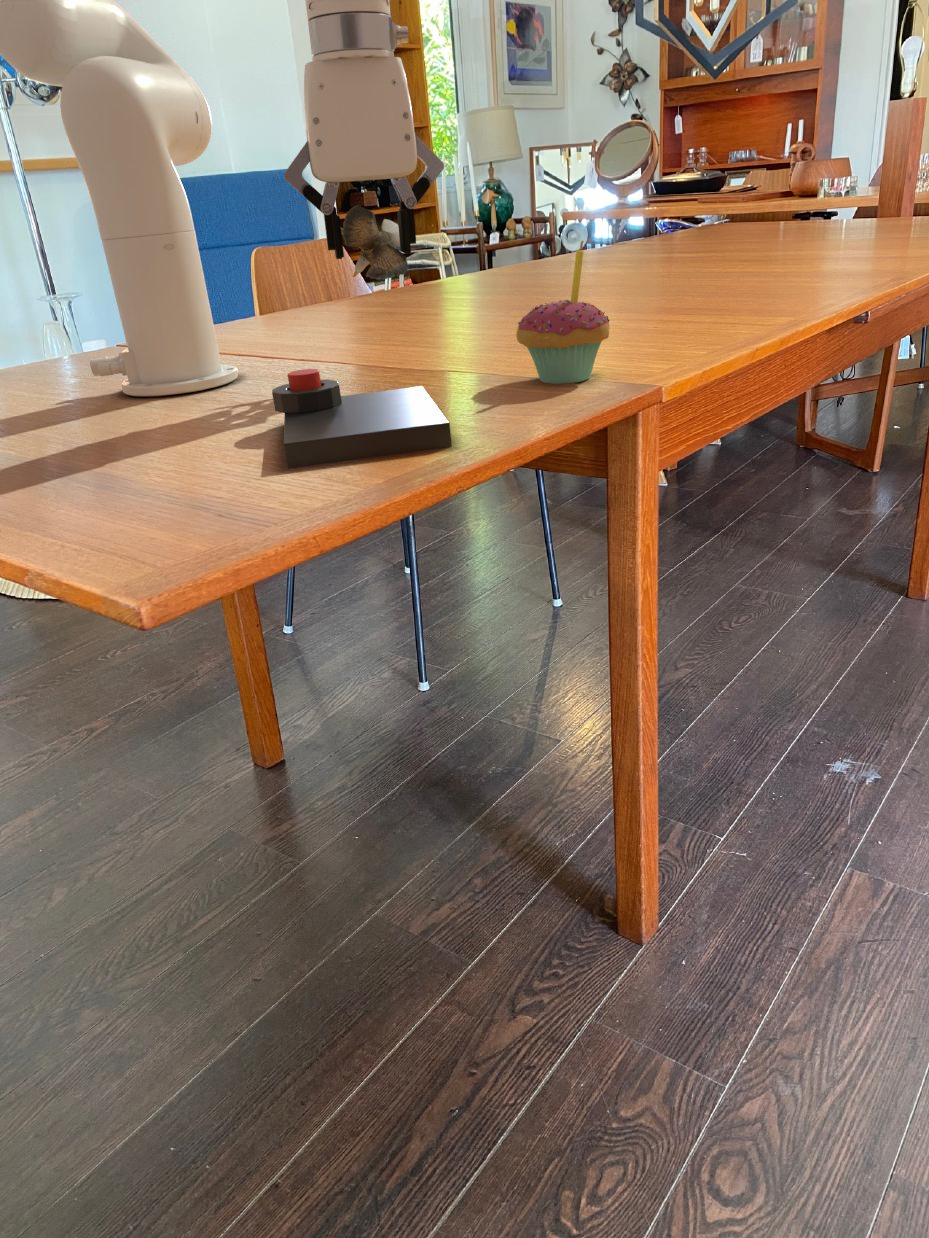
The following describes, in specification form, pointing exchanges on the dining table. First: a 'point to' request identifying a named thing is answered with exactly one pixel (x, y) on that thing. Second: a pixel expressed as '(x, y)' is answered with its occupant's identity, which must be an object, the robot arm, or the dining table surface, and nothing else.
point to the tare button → (304, 379)
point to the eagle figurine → (374, 244)
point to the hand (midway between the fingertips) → (372, 253)
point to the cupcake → (564, 335)
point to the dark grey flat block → (357, 424)
